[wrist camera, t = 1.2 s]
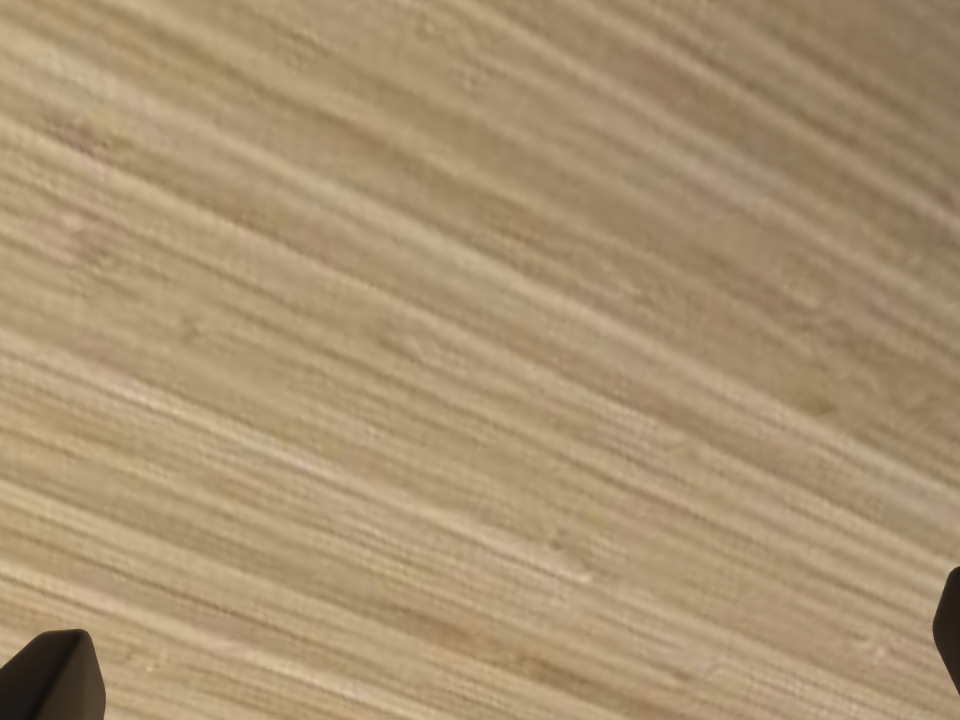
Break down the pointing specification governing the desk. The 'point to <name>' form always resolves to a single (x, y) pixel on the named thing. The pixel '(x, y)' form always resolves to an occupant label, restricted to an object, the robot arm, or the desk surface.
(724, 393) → the desk surface
